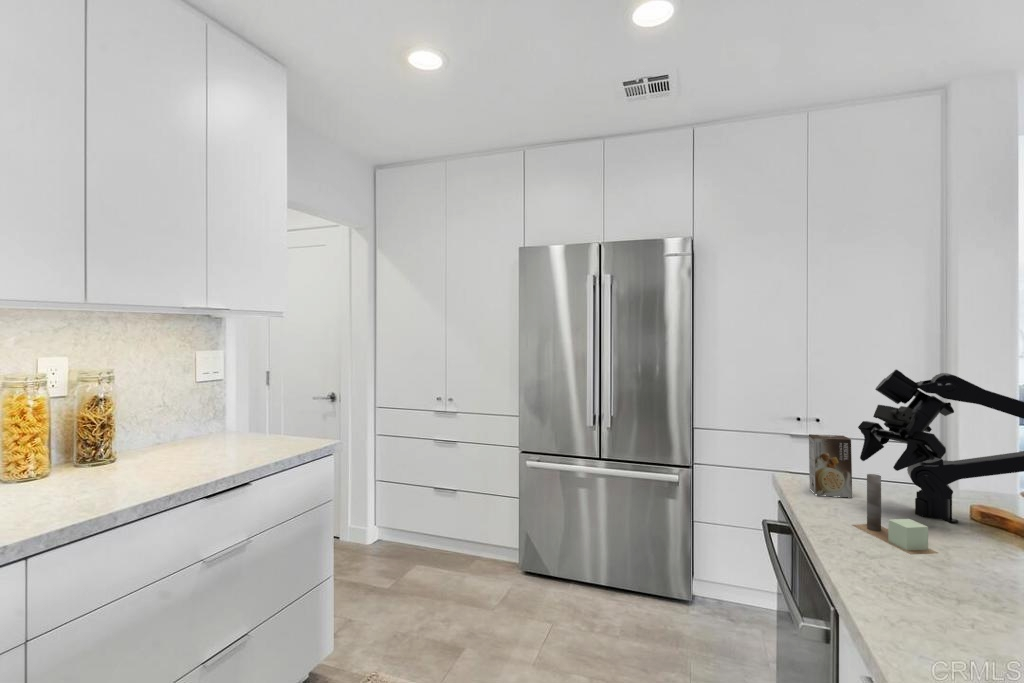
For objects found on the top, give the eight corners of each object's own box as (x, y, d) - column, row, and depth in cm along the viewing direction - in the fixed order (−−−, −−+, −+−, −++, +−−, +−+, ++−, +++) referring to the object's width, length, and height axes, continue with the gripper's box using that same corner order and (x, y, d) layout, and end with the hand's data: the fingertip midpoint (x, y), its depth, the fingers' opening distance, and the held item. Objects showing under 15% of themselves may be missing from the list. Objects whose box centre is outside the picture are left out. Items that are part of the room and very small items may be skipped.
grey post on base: (876, 528, 119) (876, 471, 119) (939, 557, 103) (939, 492, 103) (851, 529, 118) (851, 472, 118) (910, 559, 102) (910, 493, 102)
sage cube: (908, 540, 109) (908, 518, 109) (928, 549, 104) (928, 526, 104) (888, 541, 109) (888, 519, 109) (906, 550, 104) (906, 527, 104)
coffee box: (845, 492, 146) (845, 435, 146) (852, 498, 140) (852, 439, 140) (808, 489, 149) (808, 433, 148) (814, 496, 142) (814, 437, 142)
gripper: (864, 389, 133) (826, 434, 131) (935, 397, 114) (891, 450, 113) (891, 418, 134) (853, 463, 132) (965, 432, 116) (922, 484, 114)
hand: (877, 464), depth 123 cm, fingers open, 9 cm apart
